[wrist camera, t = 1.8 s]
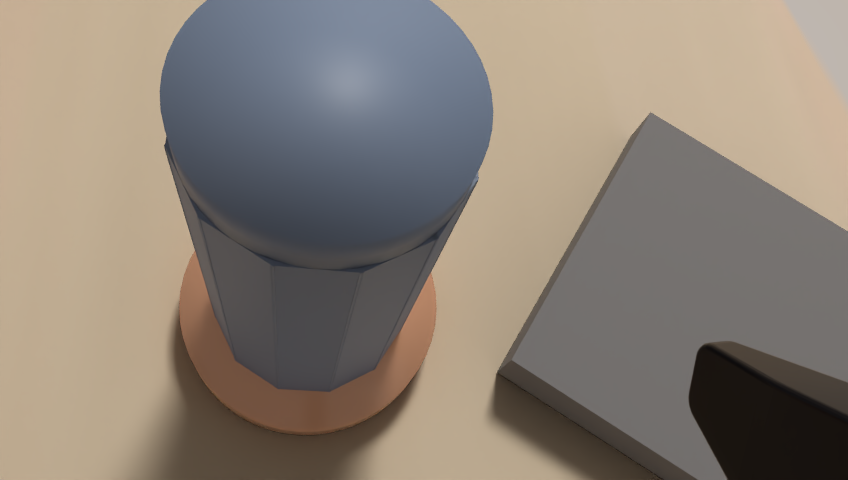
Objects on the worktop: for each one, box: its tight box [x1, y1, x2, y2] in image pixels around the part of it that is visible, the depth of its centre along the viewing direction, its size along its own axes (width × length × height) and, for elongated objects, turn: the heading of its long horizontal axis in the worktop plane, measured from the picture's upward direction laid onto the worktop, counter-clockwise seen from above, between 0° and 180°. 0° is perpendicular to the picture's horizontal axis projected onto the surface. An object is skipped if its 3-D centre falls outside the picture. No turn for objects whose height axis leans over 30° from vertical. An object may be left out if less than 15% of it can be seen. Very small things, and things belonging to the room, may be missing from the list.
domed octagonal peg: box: [160, 0, 493, 392], centre depth 16 cm, size 5×5×10 cm
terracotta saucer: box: [179, 251, 436, 435], centre depth 19 cm, size 7×7×5 cm
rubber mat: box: [497, 113, 848, 480], centre depth 22 cm, size 10×10×2 cm
